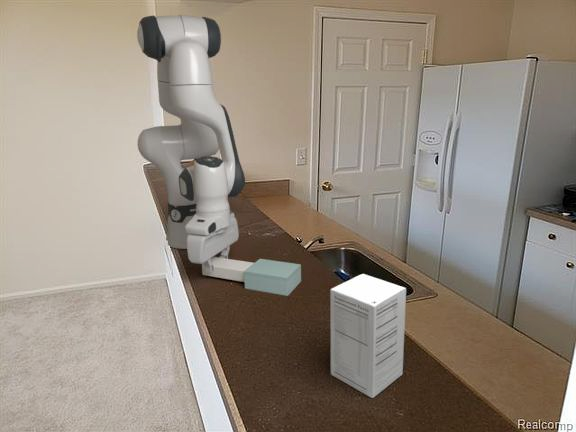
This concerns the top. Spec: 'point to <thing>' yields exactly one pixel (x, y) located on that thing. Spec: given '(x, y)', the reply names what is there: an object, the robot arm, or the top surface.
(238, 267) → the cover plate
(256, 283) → the case
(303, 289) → the top surface
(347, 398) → the top surface
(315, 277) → the top surface
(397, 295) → the supplement box
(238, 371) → the top surface
